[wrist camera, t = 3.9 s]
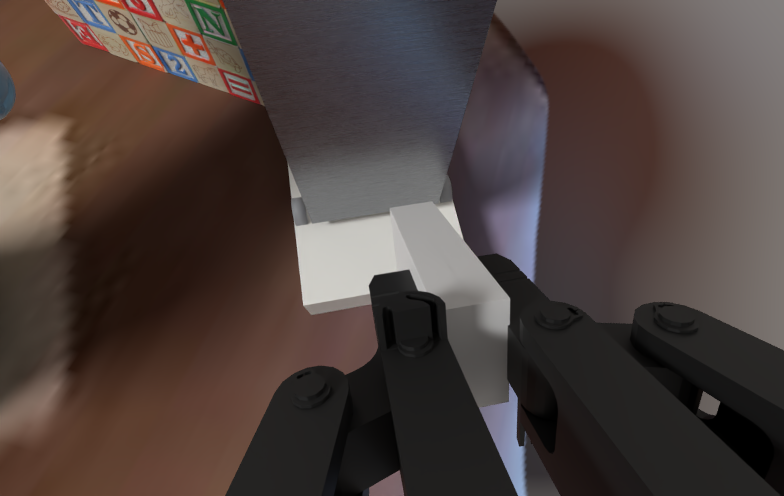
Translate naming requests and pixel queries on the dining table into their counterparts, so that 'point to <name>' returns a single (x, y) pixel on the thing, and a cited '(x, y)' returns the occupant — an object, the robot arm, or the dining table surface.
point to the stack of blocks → (166, 38)
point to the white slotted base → (347, 253)
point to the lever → (364, 93)
